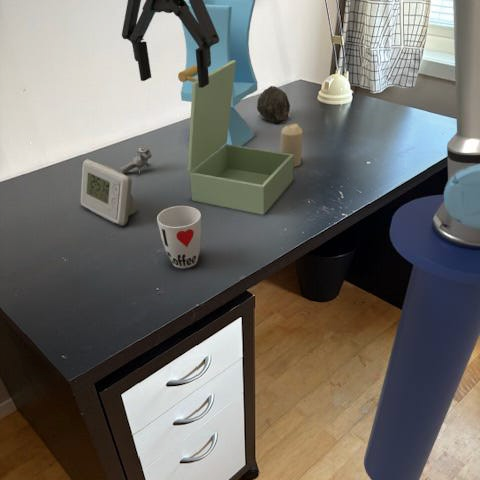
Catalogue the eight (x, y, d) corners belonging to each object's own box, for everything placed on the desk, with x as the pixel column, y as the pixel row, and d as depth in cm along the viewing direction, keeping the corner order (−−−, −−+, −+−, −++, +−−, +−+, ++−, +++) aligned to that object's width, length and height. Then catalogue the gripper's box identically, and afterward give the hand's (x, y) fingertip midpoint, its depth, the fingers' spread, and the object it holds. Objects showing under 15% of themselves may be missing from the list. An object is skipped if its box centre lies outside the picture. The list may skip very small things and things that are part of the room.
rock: (276, 124, 147) (275, 89, 141) (251, 121, 154) (250, 87, 149) (298, 120, 152) (298, 85, 147) (273, 117, 160) (273, 84, 154)
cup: (159, 271, 92) (151, 226, 86) (171, 248, 98) (164, 204, 92) (199, 274, 91) (194, 229, 85) (209, 251, 97) (205, 207, 90)
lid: (236, 60, 107) (205, 51, 109) (195, 83, 95) (162, 72, 97) (226, 142, 121) (200, 133, 123) (190, 172, 109) (161, 161, 110)
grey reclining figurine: (120, 166, 130) (149, 150, 130) (131, 186, 130) (160, 169, 130) (111, 155, 120) (142, 138, 120) (123, 176, 120) (154, 159, 120)
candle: (292, 157, 130) (293, 119, 124) (305, 163, 127) (307, 125, 120) (276, 162, 128) (276, 124, 122) (289, 169, 125) (290, 130, 118)
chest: (292, 180, 120) (293, 154, 115) (263, 215, 107) (263, 187, 103) (226, 169, 126) (225, 143, 122) (192, 200, 114) (189, 173, 109)
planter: (234, 155, 133) (228, 6, 109) (186, 147, 138) (171, 4, 115) (257, 135, 143) (256, -4, 120) (212, 129, 148) (202, -6, 125)
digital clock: (79, 206, 113) (67, 163, 106) (114, 194, 117) (104, 152, 110) (109, 233, 104) (97, 188, 96) (145, 220, 107) (137, 175, 100)
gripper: (233, -56, 79) (238, 83, 93) (113, -55, 87) (134, 71, 102) (212, -51, 74) (220, 94, 88) (86, -51, 83) (112, 81, 97)
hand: (174, 82), depth 95 cm, fingers open, 13 cm apart
